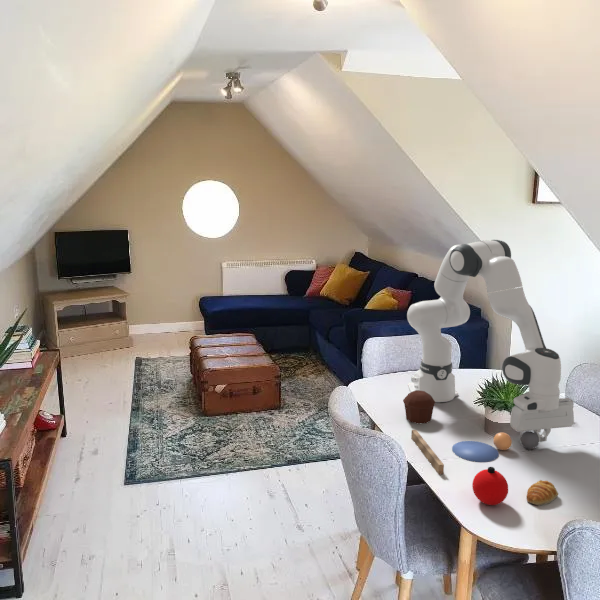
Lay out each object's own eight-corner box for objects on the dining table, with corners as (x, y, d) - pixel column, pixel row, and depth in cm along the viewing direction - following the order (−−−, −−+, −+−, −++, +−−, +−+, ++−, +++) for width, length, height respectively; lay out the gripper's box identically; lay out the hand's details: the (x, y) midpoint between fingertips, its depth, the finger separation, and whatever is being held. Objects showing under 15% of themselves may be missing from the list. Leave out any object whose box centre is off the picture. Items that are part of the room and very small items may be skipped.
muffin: (408, 410, 210) (409, 384, 208) (438, 415, 205) (439, 389, 203) (398, 421, 200) (399, 395, 198) (429, 428, 195) (430, 400, 193)
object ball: (489, 446, 181) (490, 430, 180) (505, 444, 182) (507, 428, 181) (497, 453, 176) (499, 437, 175) (514, 452, 176) (515, 436, 175)
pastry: (544, 511, 146) (545, 497, 145) (519, 501, 150) (520, 488, 150) (559, 497, 152) (560, 484, 151) (534, 488, 157) (535, 475, 156)
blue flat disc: (445, 443, 183) (445, 442, 183) (485, 440, 185) (486, 439, 185) (463, 463, 170) (463, 463, 170) (506, 460, 172) (507, 459, 172)
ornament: (482, 489, 155) (484, 456, 153) (513, 502, 149) (516, 468, 147) (464, 502, 150) (466, 467, 147) (496, 516, 143) (498, 480, 141)
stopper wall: (411, 438, 187) (411, 429, 186) (415, 438, 187) (416, 429, 187) (438, 474, 164) (438, 464, 163) (443, 474, 164) (443, 464, 163)
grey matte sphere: (528, 444, 183) (514, 440, 182) (536, 430, 181) (521, 426, 180) (537, 454, 178) (522, 450, 176) (545, 439, 176) (530, 435, 175)
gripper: (567, 394, 182) (564, 434, 185) (508, 398, 179) (506, 439, 182) (580, 400, 176) (576, 442, 179) (519, 406, 173) (517, 448, 175)
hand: (540, 441), depth 180 cm, fingers closed
